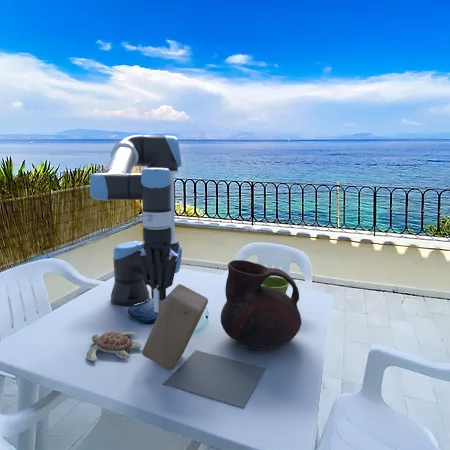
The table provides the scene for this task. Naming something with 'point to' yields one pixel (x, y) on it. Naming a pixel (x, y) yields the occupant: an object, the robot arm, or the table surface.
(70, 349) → the table surface
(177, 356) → the wooden block
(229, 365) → the mat
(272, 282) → the plant pot
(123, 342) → the decorative turtle
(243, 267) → the jug
